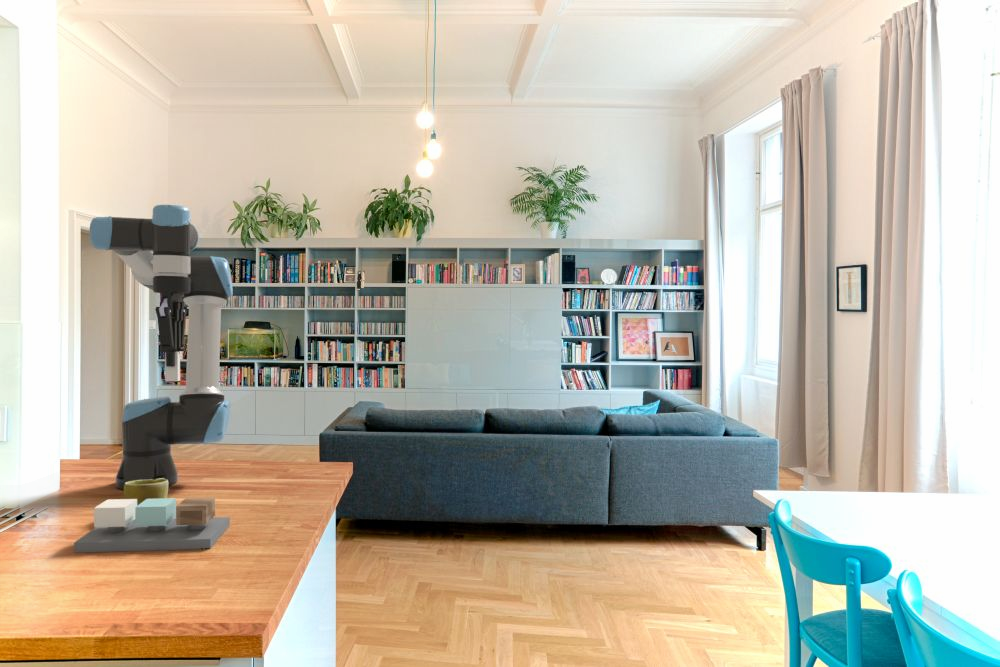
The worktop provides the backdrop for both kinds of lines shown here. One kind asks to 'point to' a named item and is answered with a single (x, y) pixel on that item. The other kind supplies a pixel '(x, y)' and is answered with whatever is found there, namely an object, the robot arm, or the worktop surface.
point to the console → (152, 537)
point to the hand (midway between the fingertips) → (172, 380)
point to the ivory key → (115, 513)
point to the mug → (146, 489)
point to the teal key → (155, 512)
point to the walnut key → (195, 511)
